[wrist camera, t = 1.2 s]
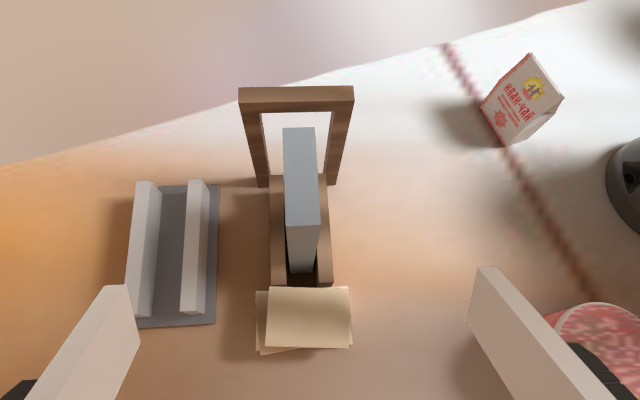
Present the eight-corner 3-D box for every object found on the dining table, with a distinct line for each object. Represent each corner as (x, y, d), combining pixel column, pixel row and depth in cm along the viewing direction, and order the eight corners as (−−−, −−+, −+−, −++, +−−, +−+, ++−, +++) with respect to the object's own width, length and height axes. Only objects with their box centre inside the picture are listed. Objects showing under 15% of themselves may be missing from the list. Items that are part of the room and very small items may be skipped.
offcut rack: (351, 349, 41) (386, 348, 25) (257, 355, 41) (230, 359, 24) (336, 173, 49) (355, 85, 33) (256, 176, 48) (235, 87, 32)
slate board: (312, 272, 44) (320, 224, 27) (290, 273, 44) (285, 226, 27) (308, 206, 47) (314, 127, 30) (287, 207, 47) (282, 128, 30)
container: (504, 307, 44) (547, 298, 37) (594, 312, 44) (654, 304, 37) (517, 411, 40) (567, 425, 33) (615, 416, 40) (687, 431, 33)
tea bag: (501, 99, 54) (543, 47, 45) (527, 139, 52) (577, 93, 43) (479, 107, 54) (517, 56, 44) (504, 147, 52) (550, 102, 42)
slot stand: (215, 323, 42) (205, 320, 37) (129, 329, 41) (108, 326, 36) (219, 186, 47) (211, 169, 43) (144, 189, 47) (127, 172, 42)
